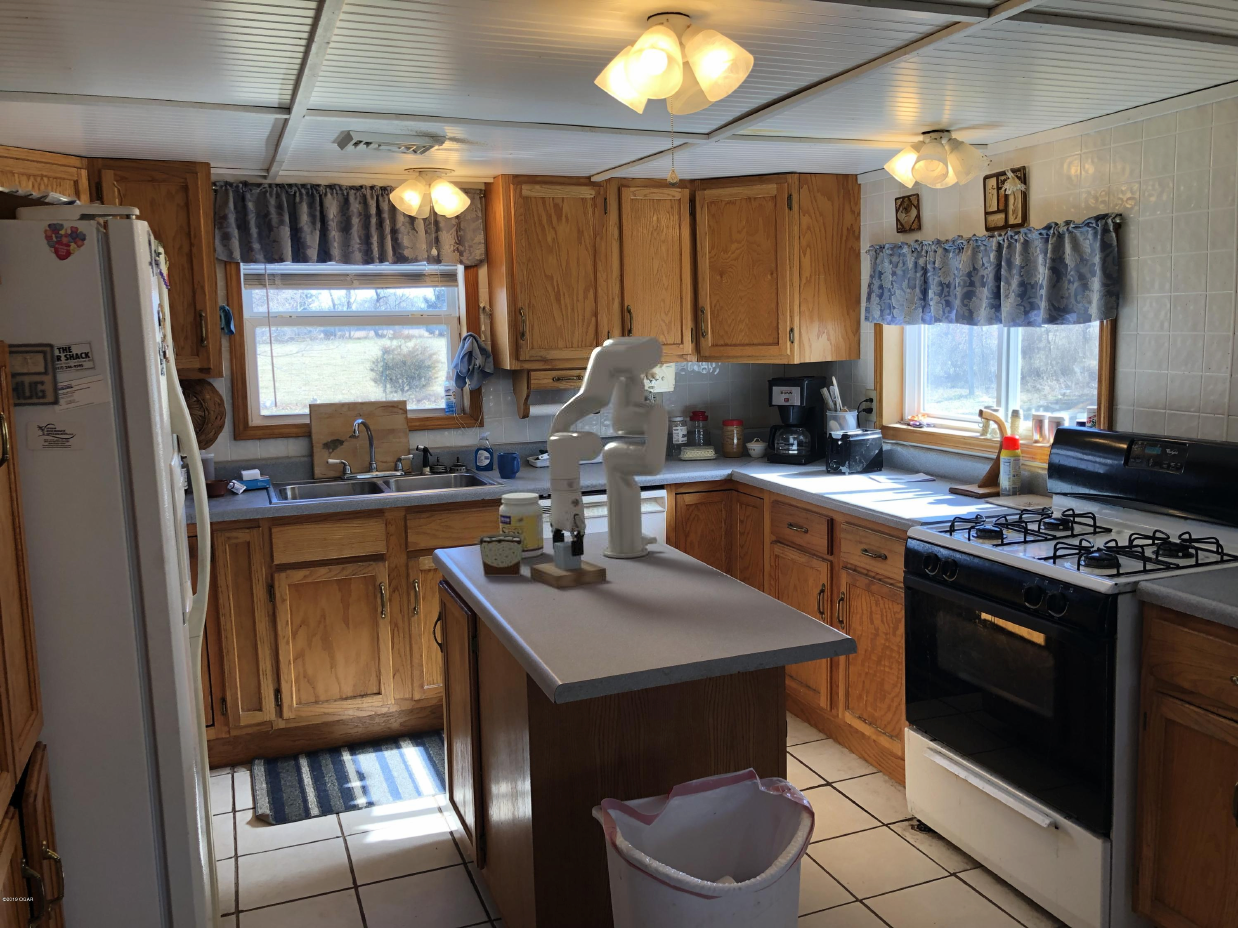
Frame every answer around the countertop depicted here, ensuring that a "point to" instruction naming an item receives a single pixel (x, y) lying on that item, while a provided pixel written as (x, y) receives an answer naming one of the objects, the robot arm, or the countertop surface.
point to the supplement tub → (523, 521)
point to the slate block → (565, 556)
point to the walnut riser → (567, 574)
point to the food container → (501, 554)
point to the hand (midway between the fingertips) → (568, 552)
